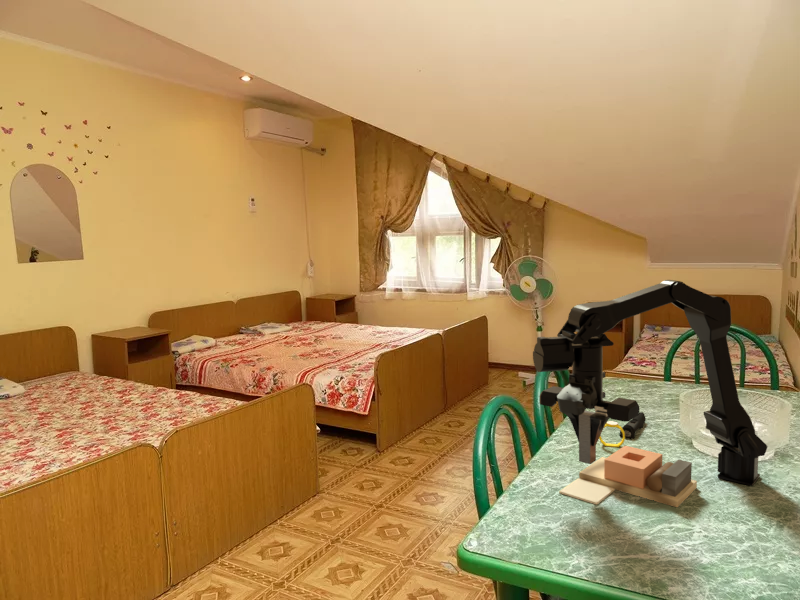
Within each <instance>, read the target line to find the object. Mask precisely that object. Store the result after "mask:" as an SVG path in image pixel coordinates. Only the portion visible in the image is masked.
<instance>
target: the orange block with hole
mask: <svg viewBox="0 0 800 600" xmlns="http://www.w3.org/2000/svg"><path fill="white" fill-rule="evenodd" d="M605 458H606V459H604V478H607V479H610V480H614V481H617V482H621V483H624V484H628V485H632V486H635V487H639V488H642V489H643V488H645V487H646V486H647V483H646V481H647V478H648V477H649V476H651V475H652V474H653V473H654V472H655V471H657V470H658V469H659V468H660V467H662V466H663V453H658V452H654V451H650V450H646V449H641V448H637V447H632V446H627V445H623V446H622V447H620V448H619V449H617V450H616V451H614V452H613V453H612V454H610V455H609V456H608V457H605Z"/></svg>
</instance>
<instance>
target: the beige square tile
mask: <svg viewBox="0 0 800 600" xmlns="http://www.w3.org/2000/svg"><path fill="white" fill-rule="evenodd" d="M615 491H616V490H615V489H614V488H611V487H607V486H604V485H600V484H597V483H593V482H590V481H586V480H583V479H580V478H576V479H575V480H573V481H572V482H570V483H569V484H567V485H566V486H565V487H563V488H561V489H560V490H559V494H562V495H565V496H568V497H570V498H573V499H576V500H577V499H578V500H581V501H584V502H587V503H590V504H594V505H598V504H600V503H602V501H603V500H605V499H606V498H607V497H609V496H610V495H611V494H612V493H613V492H615Z"/></svg>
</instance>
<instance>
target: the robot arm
mask: <svg viewBox="0 0 800 600" xmlns="http://www.w3.org/2000/svg"><path fill="white" fill-rule="evenodd" d="M668 304H672V305H674V306H675V307H677V308H678V309H680V310H682V311H684V312H683V313H684V315H685V316H686V319H687V321H688V322H687V323H688V324H689V326H690V329H692V330H693V332H694V333H695V335H696V336H697V338H698V339H699V342H700V348H701V352H702V358H703V363H704V368H705V371H706V377H707V381H708V385H709V391H710V395H711V401H712V404H711V406H710V408H709V410H706V411H704V412H703V416H704V418H705V423H706V425H705V429H706V430H708V431H709V432H710V434H711V435H712V436H713V437H714V440H715V442H716V443H717V444H719V445H721V447H720V449H721V450H720V452H718V453H717V472H718V473H719V474H717V478H718V479H721V480H725V481H730V482H732V483H733V482H734V483H737V484H742V485H746V486H749V487H752V486H754V485H755V483H756V482H757V481H758V480H759V478H760V477H761V474H760V473H759V457H764V456H765V455H766V452H767V450H768V445H767V444H766V443H765V442H764V441H763V440H762V439H761V438H760V437H759V436H758V435H757V434H756V429H755V426H754V424H753V422H752V419H751V416H750V414H748V412H747V411H746V409H745V408H744V407H743V405H742V404H741V402H740V398H739V394H738V393H739V392H738V387H737V384H736V379H735V373H734V370H733V368H734V367H733V365H732V359H731V354H730V348H729V343H728V338H727V336H728V333H729V331H730V328H731V326H732V308H731V304H730V302H729V300H727V299H725V298H724V297H721V296H717V295H716V296H715V295H713V294H711V295H710V294H707V293H705V292H703V291H700V290H698V289H697V288H695V287H694V288H693V287H692V286H689V285H688V284H686V283H685V282H683V281H681V280H673V279H665V280H663V281H661V282H659V283H656V284H654V285H651V286H648V287H646V288H642V289H640V290H637V291H635V292H632V293H628V294H626V295H622V296H619V297H617V298H614V299H611V300H606V301H592V302H586V303H579V304H577V305H575V306H573V307H572V308H571V309H570V312H569V313H568V316H567V317H568V319H566V322H565V323H564V324H563V326H562V327H561V328H560V330H559V331H558V333H557V335H556V336H538V337H537V338H536V343H535V345H534V348H533V351H532V361H533V365H534V367H535V370H536V372H537V373H543V372H544V373H547V372H557V371H558V372H559V371H568V370H569V369H570V368H571V370H572V373H569V375H568V376H569V377H568V383H567V385H565V386H564V387H560V386H555V385H554V386H550V387H549V388H546V389H543V390H542V391H541V392H540V394H539V405H541V406H546V407H549V408H552V407H554V406H555V405H556V404H557V403H558V409H559V412H560V413H562V414H564V415H566V417H568V419H569V421H570V422H571V426H572V428H573V430H574V434H575V435H576V438H577V442H579V415H581V414H583V413H584V410H585V411H586V409H588V410H594V412H595V414H593V415H591V416H590V419H591V421H592V436H591V441H592V446H595V445H596V446H597V444H598V442H599V440H600V439H599V437H600V436H601V435H602V433H603V430H604V429H605V428H604V426H605V424H606V423H607V421H609V420H614V421H620V422H624V423H625V422H629V421H630V420H632V419H633V418H635V417H636V416H638V415H639V413H640V405H639V403H638V401H637V400H634V399H630V398H629V399H628V398H623V397H618V398H616V399H613V400H612V401H609V400H604V398H606V391H603V389H604V388H603V384H604V383H603V379H604V378H606V371H603V370H604V369H603V368H604V367H603V364H604V363H603V361H604V360H603V359H604V358H603V357H604V355H603V353H604V349H603V347H611V346H614V344H615V343H614V341H612V340H611V339H609V337H607V334H606V332H608V331H610V330H612V329H614V327H616V325H617V324H619V323H620V322H622V321H623V320H626V319H629V318H632V317H634V316H637V315H640V314H643V313H646V312H648V311H651V310H655V309H657V308H660V307H664V306H666V305H668Z"/></svg>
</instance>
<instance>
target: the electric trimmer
mask: <svg viewBox="0 0 800 600" xmlns="http://www.w3.org/2000/svg"><path fill="white" fill-rule="evenodd" d="M645 422H646V416H645V413H644V412H640V411H639V415H638V416H636V417H635V418H633V419H631V420H630V421H627V422H626V424H625V425H623V426H621V427H622V429H623V430H624V433H625V440H626V439H628V440H633V439H635V437H636V432H637V431H638V430H642V429H643V427H644V426H645V425H644V424H645ZM619 430H620V429H619ZM619 437H620V438H621V439H623V433H622V432H621V430H620V431H619Z"/></svg>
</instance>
